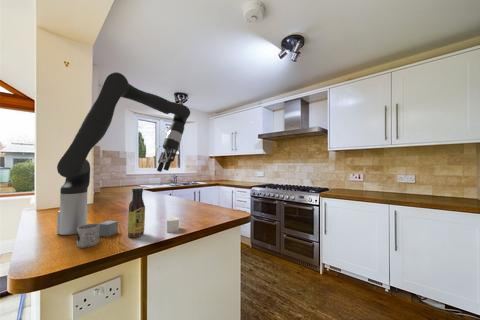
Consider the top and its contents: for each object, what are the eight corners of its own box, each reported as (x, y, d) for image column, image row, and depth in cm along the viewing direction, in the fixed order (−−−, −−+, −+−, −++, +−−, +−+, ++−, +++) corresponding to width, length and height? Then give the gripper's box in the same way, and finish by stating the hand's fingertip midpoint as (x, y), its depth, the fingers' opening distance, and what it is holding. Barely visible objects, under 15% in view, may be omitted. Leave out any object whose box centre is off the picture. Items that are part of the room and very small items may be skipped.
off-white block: (166, 232, 86) (167, 221, 86) (166, 228, 91) (166, 218, 91) (178, 231, 88) (178, 219, 88) (177, 227, 93) (178, 217, 93)
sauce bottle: (137, 238, 78) (137, 189, 79) (123, 237, 80) (124, 189, 80) (147, 233, 85) (148, 187, 85) (135, 232, 86) (136, 187, 86)
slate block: (97, 235, 82) (98, 223, 82) (108, 231, 87) (108, 220, 87) (107, 236, 81) (107, 224, 81) (117, 232, 86) (117, 221, 86)
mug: (80, 242, 75) (80, 224, 75) (101, 239, 78) (101, 222, 78) (70, 253, 66) (70, 233, 66) (94, 249, 69) (94, 230, 69)
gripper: (160, 140, 103) (149, 169, 98) (171, 134, 93) (160, 166, 87) (173, 146, 107) (163, 174, 102) (185, 141, 97) (175, 172, 92)
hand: (162, 170), depth 95 cm, fingers open, 8 cm apart
